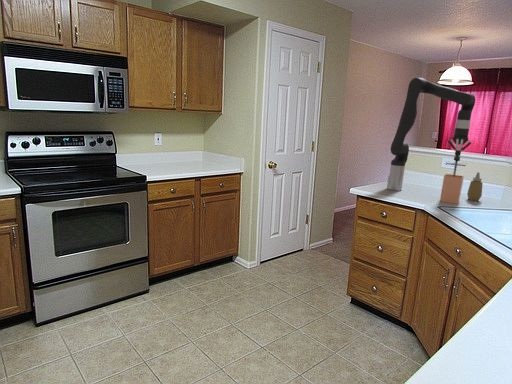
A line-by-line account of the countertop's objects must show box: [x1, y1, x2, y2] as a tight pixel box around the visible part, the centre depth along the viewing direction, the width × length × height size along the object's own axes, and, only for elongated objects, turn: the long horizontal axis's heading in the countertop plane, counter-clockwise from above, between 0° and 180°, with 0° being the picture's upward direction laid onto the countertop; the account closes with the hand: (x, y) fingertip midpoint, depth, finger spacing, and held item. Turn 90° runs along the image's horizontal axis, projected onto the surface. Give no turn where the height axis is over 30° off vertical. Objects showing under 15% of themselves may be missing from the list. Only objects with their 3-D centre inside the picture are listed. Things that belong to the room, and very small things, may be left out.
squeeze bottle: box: [466, 172, 483, 202], centre depth 234 cm, size 8×8×18 cm
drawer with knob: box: [445, 155, 467, 177], centre depth 225 cm, size 10×10×20 cm
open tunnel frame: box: [439, 173, 465, 205], centre depth 228 cm, size 10×10×16 cm
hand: (457, 156), depth 223 cm, fingers closed
